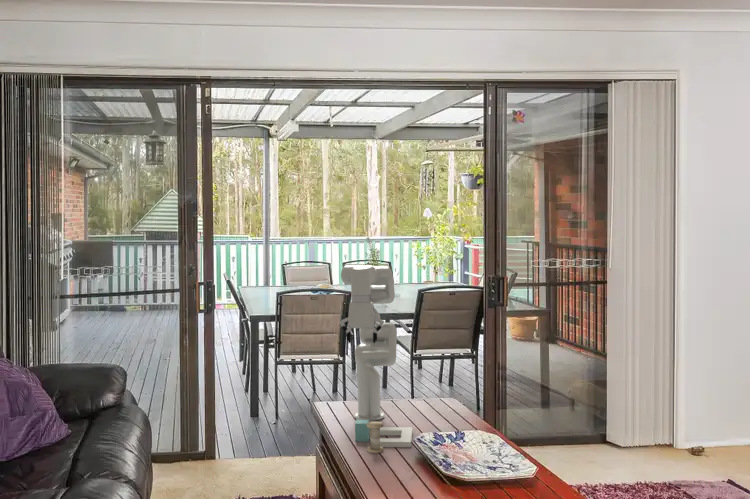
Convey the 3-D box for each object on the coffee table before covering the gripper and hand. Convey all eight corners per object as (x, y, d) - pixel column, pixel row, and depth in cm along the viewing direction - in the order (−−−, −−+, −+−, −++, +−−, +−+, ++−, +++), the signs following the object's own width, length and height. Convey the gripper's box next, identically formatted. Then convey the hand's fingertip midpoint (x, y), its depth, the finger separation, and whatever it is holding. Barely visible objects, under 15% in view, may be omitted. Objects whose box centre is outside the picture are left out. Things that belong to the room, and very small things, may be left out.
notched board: (377, 432, 301) (377, 427, 301) (412, 432, 300) (412, 427, 300) (373, 446, 283) (373, 441, 283) (410, 447, 282) (410, 441, 282)
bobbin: (367, 447, 283) (367, 421, 282) (383, 447, 282) (383, 421, 281) (366, 453, 277) (365, 426, 276) (382, 453, 276) (382, 426, 275)
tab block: (356, 437, 296) (356, 419, 295) (369, 437, 295) (369, 419, 295) (355, 441, 291) (355, 423, 290) (368, 441, 290) (368, 423, 290)
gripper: (384, 297, 298) (384, 340, 299) (340, 298, 300) (341, 340, 301) (382, 300, 291) (383, 344, 292) (337, 300, 292) (338, 344, 293)
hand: (362, 342), depth 296 cm, fingers open, 9 cm apart
